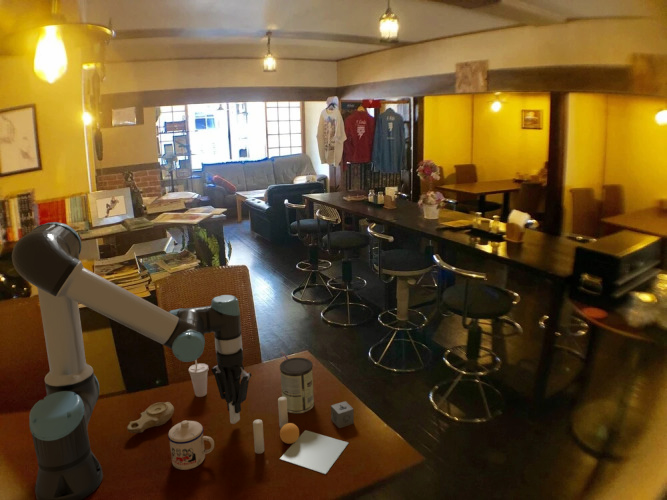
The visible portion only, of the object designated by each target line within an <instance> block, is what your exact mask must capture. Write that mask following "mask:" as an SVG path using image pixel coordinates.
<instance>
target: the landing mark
mask: <svg viewBox="0 0 667 500" xmlns="http://www.w3.org/2000/svg"><path fill="white" fill-rule="evenodd" d="M348 445H349V442H348V441H344V440H341V439H337V438H334V437H331V436H327V435H323V434H320V433H318V432H317V433H316V432H314V431H310V430H306V429H305V430H304V431H303V432H302V433H301V434H299V437H298V439H297V441H296V442H294V443H292V444H291V445H290V447H288V448H287V450H286V451H285V452H284V453H283V454H282V456H281V457H280V458H279V460H281V461H284V462H287V463H290V464H293V465H296V466H299V467H302V468H306V469H307V470H311V471H315V472H318V473H320V474H323V475H327V474H328V473H329V471H330V469H331V468H332V467H333V465H334V464H335V463H336V462H337V460H338V459H339V457H340V456H341V454H342V453H343V452H344V450H345V449H346V448H347V446H348Z"/></svg>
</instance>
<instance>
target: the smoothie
mask: <svg viewBox="0 0 667 500" xmlns="http://www.w3.org/2000/svg"><path fill="white" fill-rule="evenodd" d="M197 360H198V359H196V360H194V363H195V364H192V365H190V366H189V368H188V373H189V375H190V378H191V383H192V387H193V391H194V394H195V397H198V398H202V397H205V396H206V395H207V393H208V391H207V390H208V371H209V370H210V369H209V365H208V364H206V363H198V361H197Z"/></svg>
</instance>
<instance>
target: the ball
mask: <svg viewBox="0 0 667 500" xmlns="http://www.w3.org/2000/svg"><path fill="white" fill-rule="evenodd" d="M279 436H280V439H281V441H282V442H283V443H285V444H288V445H290V444H291V445H292V444H293V443H294V442H296V441H297V439H298V438H299V437H300V429H299V427H298V426H297V425H296V424H295V423H293V422H288V423H287V424H285V425H284V426H283V427H282V428H280V430H279Z"/></svg>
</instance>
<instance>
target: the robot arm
mask: <svg viewBox="0 0 667 500" xmlns="http://www.w3.org/2000/svg"><path fill="white" fill-rule="evenodd" d="M81 251H82V239H81V237H80V235H79V234H78V232H77V231H76V230H75V229H74V228H72V227H71V226H70V225H68V224H66V223H64V222H63V223H62V222H57V221H53V222H47V223H44V224H43V223H42V224H39V225H38V226H36V227H34V228H33V229H32V230H31V231H30V232H28V233H27V234H24V236H22V237H21V238H20V239H19V240H18V241H16V243H15V244H14V247H13V249H12V253H11V260H12V266H13V267H14V269H15V271H16V273H18V274H19V276H21V278H22V279H24V280H25V281H27V282H28V283H30V284H31V285H33V286H34V287H36V288H37V294H38V300H39V306H40V307H39V309H40V315H41V321H42V328H43V334H44V339H45V340H44V341H45V347H46V352H47V354H46V355H47V361H48V366H49V372H47V374H46V375H45V377H44V385H45V391H46V396H44V397H43V399H39V400H38V401H37V402H35V404H34V405H33V407H31V409H30V412H29V417H28V420H29V430H30V432H31V437H32V441H33V446H34V451H35V454H36V459H37V465H38V470H37V474H36V475H37V476H36V482H35V485H34V492H35V497H36V500H84V499H85V498H86V497H88V496H90V495H91V494H92V493H93V492H95V491H96V489H98V487H99V486H100V484H101V483H102V481H103V477H104V474H103V469H102V465H101V464H100V461H99V460H98V458H97V457H96V456H95V454H94V453H93V451H92V450H91V443H90V439H89V432H88V425H89V422H90V419H91V418H92V417H91V416H92V415H93V413H94V412H93V411H94V409H95V406H96V404H97V402H98V400H99V396H100V383H99V380H98V378H97V376H96V374H95V373H94V369H93V367H92V366H91V365H90V364H88V363H87V361H86V355H85V354H86V353H85V344H84V336H83V331H82V322H81V315H80V309H79V304H80V305H82V306H85V307H87V308H88V309H91V310H92V311H95V312H97V313H98V314H101V315H103V316H105V317H106V318H109V319H111V320H113V321H114V322H117V323H119V324H121V325H123V326H124V327H127V328H129V329H131V330H132V331H135V332H137V333H139V334H141V335H143V336H145V337H146V338H148V339H151V340H153V341H155V342H157V343H159V344H161V345H163V346H165V347H167V348H169V349H171V350H172V354H173V355H174V357H175V358H176V359H177V360H178V361H180V362H184V363H189V362H190V363H192V362H195V360H196V359H197V360H198V359H199V358H200V357H202V354H203V352H204V348H205V345H206V341H205V334H210V333H214V346H215V347H214V349H215V357H216V363H217V364H216V365H215V366H213V367H212V368H211V372H212V374H213V376H214V379H215V382H216V386H217V388H218V392H219V396H220V399H222V400H225V402H226V406H227V411H228V412H229V421H230V422H229V423H230V424H232V425H235V424H236V423H238V422H239V421H240V420H241V415H240V412H241V411H242V406H241V404H242V403H243V402H245V401H246V400H247V395H248V394H247V393H248V390H249V383H250V381H249V380H250V379H251V377H252V373H251V372H248V373H247V371H246V370H245V367H244V365H243V362H244V350H243V340H242V339H243V337H242V322H241V321H242V319H241V309H240V305H239V304H240V303H239V302H240V301H239V299H238V298H237V297H236V296H234V295H231V294H222V295H219V296H215V297H213V298H212V299H211V301H210V305H206V306H196V307H193V306H192V307H185V308H183V307H182V308H176V309H173V310H172V309H171V310H169V311H167V310H165V309H163V308H161V307H159V306H158V305H155V304H154V303H152V302H150V301H148V300H147V299H144V298H142V297H140V296H138V295H136V294H134V293H133V292H131V291H129V290H127V289H125V288H123V287H122V286H119V285H117V284H116V283H114V282H113V281H111V280H108V279H106V278H104V277H103V276H100V275H99V274H97V273H96V272H95V273H94V272H93V271H91V270H89V269H88V268H85V267H84V264H83V262H82V261H81V260H80V254H81Z"/></svg>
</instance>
